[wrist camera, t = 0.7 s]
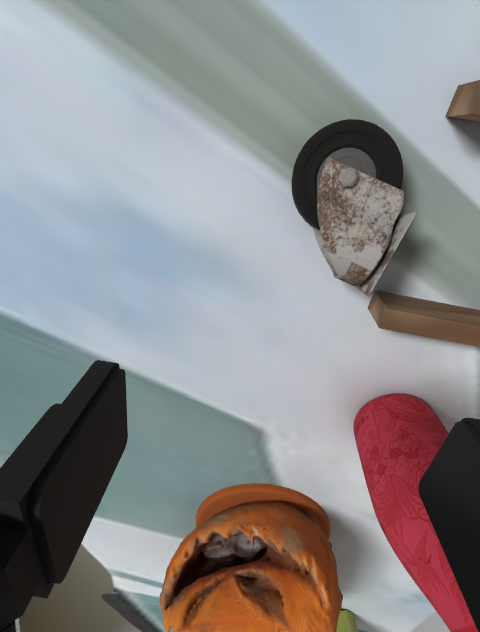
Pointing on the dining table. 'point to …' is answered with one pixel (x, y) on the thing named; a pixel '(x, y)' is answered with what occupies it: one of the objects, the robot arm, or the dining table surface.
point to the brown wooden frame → (423, 315)
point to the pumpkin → (254, 566)
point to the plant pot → (346, 622)
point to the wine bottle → (409, 494)
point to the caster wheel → (352, 198)
